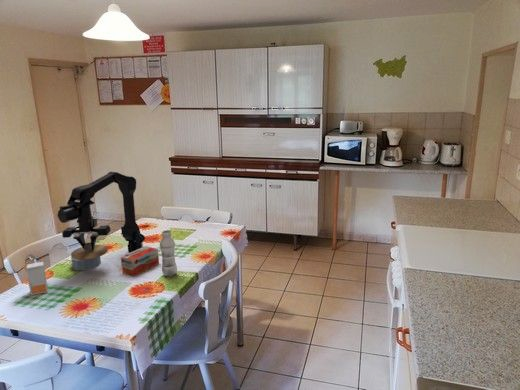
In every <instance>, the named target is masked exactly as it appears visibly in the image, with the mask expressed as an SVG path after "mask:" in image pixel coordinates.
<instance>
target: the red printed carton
mask: <svg viewBox="0 0 520 390" xmlns="http://www.w3.org/2000/svg"><path fill="white" fill-rule="evenodd" d="M120 260H121V263H120V264H121V268H122V272H123V273H125V274H127V275H131V276H135V277H136V276H137V275H140V274H141V273H143V272H146V271H147V270H150V269H152V268H154V267H156V266H158V265H160V257H159V250H158V248H155V247H152V246H151V247H150V246H147V245H145V246H143V247H142V248H140V249H138V250H135V251H133V252H131V253H129V252H128V253H126V254H124V255H121V256H120Z"/></svg>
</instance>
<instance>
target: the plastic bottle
mask: <svg viewBox="0 0 520 390" xmlns="http://www.w3.org/2000/svg"><path fill="white" fill-rule="evenodd" d="M161 236H162V238H161V240H160V242H159V247H160V251H161V258H162V259H161V260H162V265H161V272H162V275H163V276H165V277H172V276H175V275H176V274H177V272H178V265H177V263H176V258H175V248H176V242H175V239H174V238H173V237H172V231H171V230H164V231H162V232H161Z"/></svg>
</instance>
